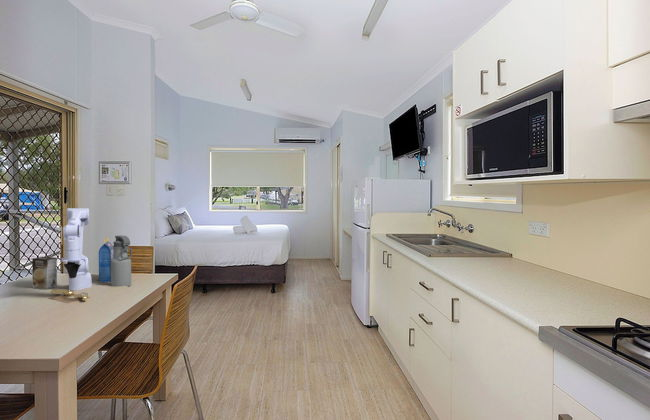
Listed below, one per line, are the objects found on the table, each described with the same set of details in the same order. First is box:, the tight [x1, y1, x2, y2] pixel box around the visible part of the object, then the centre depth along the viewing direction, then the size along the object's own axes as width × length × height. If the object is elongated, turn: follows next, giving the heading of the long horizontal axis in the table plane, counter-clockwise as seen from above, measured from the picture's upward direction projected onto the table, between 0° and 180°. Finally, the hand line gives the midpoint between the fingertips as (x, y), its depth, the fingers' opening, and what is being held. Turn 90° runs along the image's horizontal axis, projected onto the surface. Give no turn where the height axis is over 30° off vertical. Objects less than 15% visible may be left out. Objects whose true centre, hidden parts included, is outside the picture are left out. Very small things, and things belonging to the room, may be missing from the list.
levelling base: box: [47, 293, 91, 304], centre depth 165 cm, size 10×16×2 cm, turn 65°
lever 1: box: [50, 288, 75, 296], centre depth 170 cm, size 11×4×2 cm, turn 91°
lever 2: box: [77, 292, 89, 301], centre depth 163 cm, size 11×4×2 cm, turn 40°
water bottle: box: [110, 235, 133, 288], centre depth 191 cm, size 10×10×28 cm
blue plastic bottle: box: [98, 236, 114, 283], centre depth 206 cm, size 6×12×25 cm, turn 24°
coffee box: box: [31, 256, 58, 290], centre depth 187 cm, size 9×6×16 cm
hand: (72, 277), depth 167 cm, fingers closed
